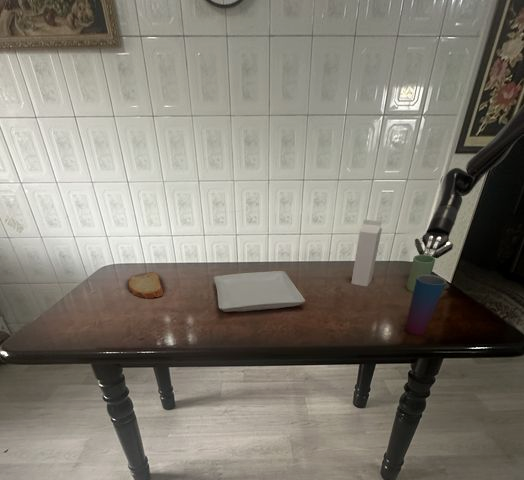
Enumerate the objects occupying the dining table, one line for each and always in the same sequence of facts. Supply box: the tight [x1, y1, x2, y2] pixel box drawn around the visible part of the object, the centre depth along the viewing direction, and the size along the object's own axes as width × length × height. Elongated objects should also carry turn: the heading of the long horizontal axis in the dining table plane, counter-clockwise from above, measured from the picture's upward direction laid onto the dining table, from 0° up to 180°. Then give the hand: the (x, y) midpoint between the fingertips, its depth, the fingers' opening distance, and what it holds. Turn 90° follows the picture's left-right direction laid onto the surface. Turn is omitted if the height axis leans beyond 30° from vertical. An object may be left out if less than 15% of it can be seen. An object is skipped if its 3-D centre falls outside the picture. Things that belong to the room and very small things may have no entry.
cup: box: [405, 274, 447, 336], centre depth 80 cm, size 7×7×15 cm
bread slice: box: [127, 271, 164, 299], centre depth 111 cm, size 18×18×4 cm
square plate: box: [213, 270, 306, 313], centre depth 103 cm, size 27×27×4 cm
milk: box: [350, 219, 383, 288], centre depth 107 cm, size 6×6×22 cm
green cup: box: [406, 254, 436, 293], centre depth 104 cm, size 7×7×11 cm
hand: (424, 266), depth 106 cm, fingers closed
